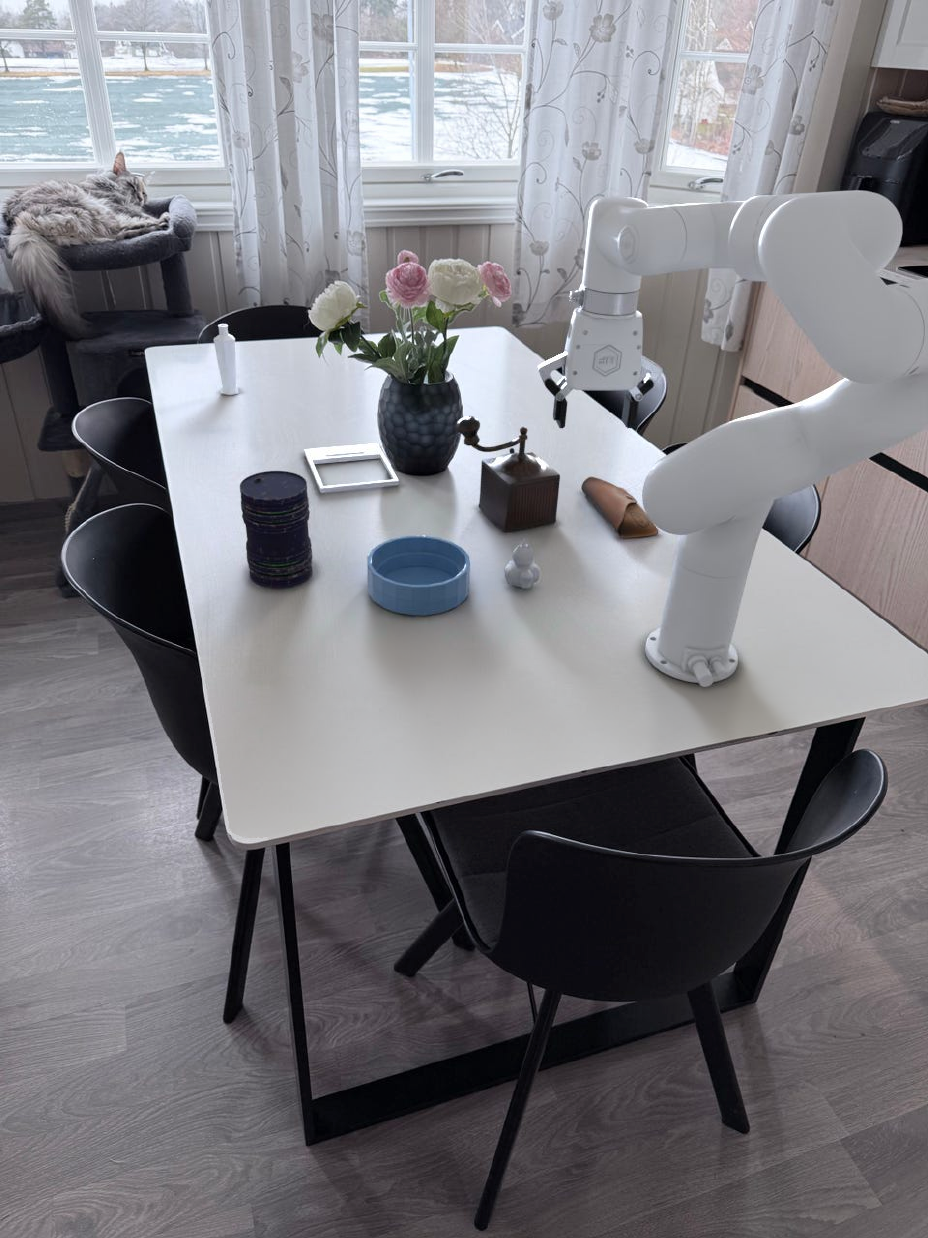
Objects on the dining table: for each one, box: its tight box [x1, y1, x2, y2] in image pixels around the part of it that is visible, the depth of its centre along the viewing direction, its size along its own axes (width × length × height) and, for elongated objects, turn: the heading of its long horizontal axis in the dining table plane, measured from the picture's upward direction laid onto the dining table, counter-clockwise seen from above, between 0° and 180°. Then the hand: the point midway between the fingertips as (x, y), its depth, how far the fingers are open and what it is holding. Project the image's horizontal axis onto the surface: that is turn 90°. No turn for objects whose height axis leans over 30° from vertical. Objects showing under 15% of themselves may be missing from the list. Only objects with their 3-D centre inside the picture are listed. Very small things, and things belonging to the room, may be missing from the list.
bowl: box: [366, 535, 471, 616], centre depth 134 cm, size 15×15×5 cm
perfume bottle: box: [213, 323, 240, 396], centre depth 198 cm, size 5×4×15 cm
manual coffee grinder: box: [456, 415, 561, 533], centre depth 151 cm, size 16×11×18 cm
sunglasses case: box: [580, 476, 659, 540], centre depth 158 cm, size 18×7×7 cm
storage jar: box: [239, 470, 313, 590], centre depth 134 cm, size 10×10×15 cm
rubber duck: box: [503, 537, 541, 589], centre depth 135 cm, size 5×7×8 cm
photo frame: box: [303, 442, 400, 494], centre depth 170 cm, size 15×1×18 cm
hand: (593, 424), depth 127 cm, fingers open, 9 cm apart
